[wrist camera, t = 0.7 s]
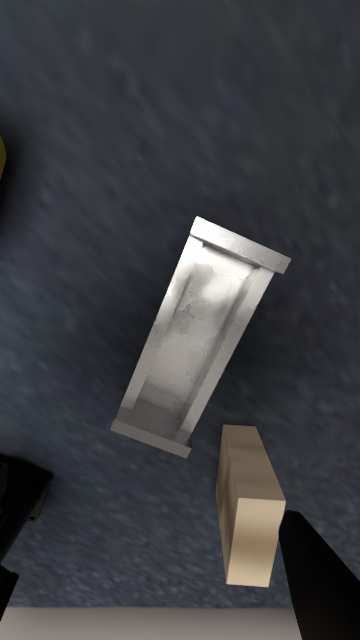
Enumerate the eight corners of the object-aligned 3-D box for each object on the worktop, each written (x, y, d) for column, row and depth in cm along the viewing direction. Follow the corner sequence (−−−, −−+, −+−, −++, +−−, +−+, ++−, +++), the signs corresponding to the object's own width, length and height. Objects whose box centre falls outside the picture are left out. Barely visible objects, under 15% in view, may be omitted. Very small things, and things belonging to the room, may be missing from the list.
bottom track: (186, 423, 22) (186, 458, 18) (123, 399, 22) (109, 429, 18) (269, 258, 18) (291, 258, 14) (194, 225, 18) (196, 216, 14)
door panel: (246, 494, 24) (270, 587, 17) (215, 492, 24) (226, 583, 17) (257, 426, 22) (288, 501, 15) (222, 424, 22) (238, 497, 15)
